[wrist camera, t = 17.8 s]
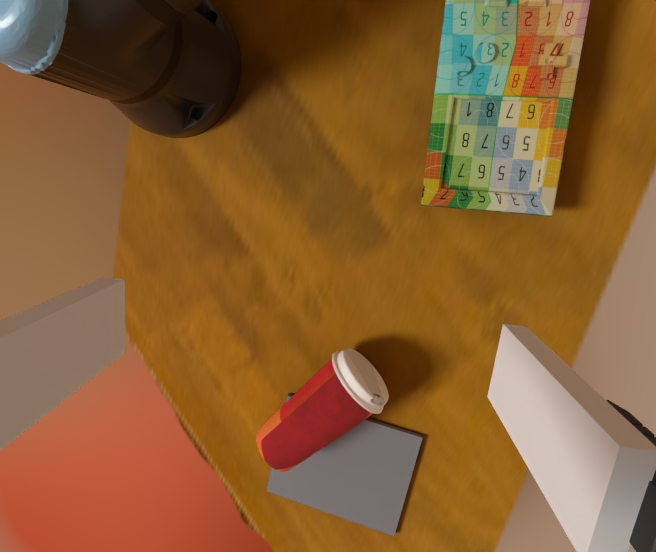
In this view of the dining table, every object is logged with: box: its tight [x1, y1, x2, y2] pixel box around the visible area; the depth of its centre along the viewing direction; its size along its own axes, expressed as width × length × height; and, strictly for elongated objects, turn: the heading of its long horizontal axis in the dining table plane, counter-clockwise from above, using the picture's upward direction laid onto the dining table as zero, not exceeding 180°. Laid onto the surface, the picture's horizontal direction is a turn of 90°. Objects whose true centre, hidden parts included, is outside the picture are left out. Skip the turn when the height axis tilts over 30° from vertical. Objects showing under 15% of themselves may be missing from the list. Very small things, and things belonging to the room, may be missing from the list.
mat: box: [267, 394, 423, 536], centre depth 50 cm, size 16×13×1 cm
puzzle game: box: [421, 0, 590, 216], centre depth 40 cm, size 12×5×20 cm
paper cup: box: [256, 348, 389, 472], centre depth 46 cm, size 8×8×14 cm
